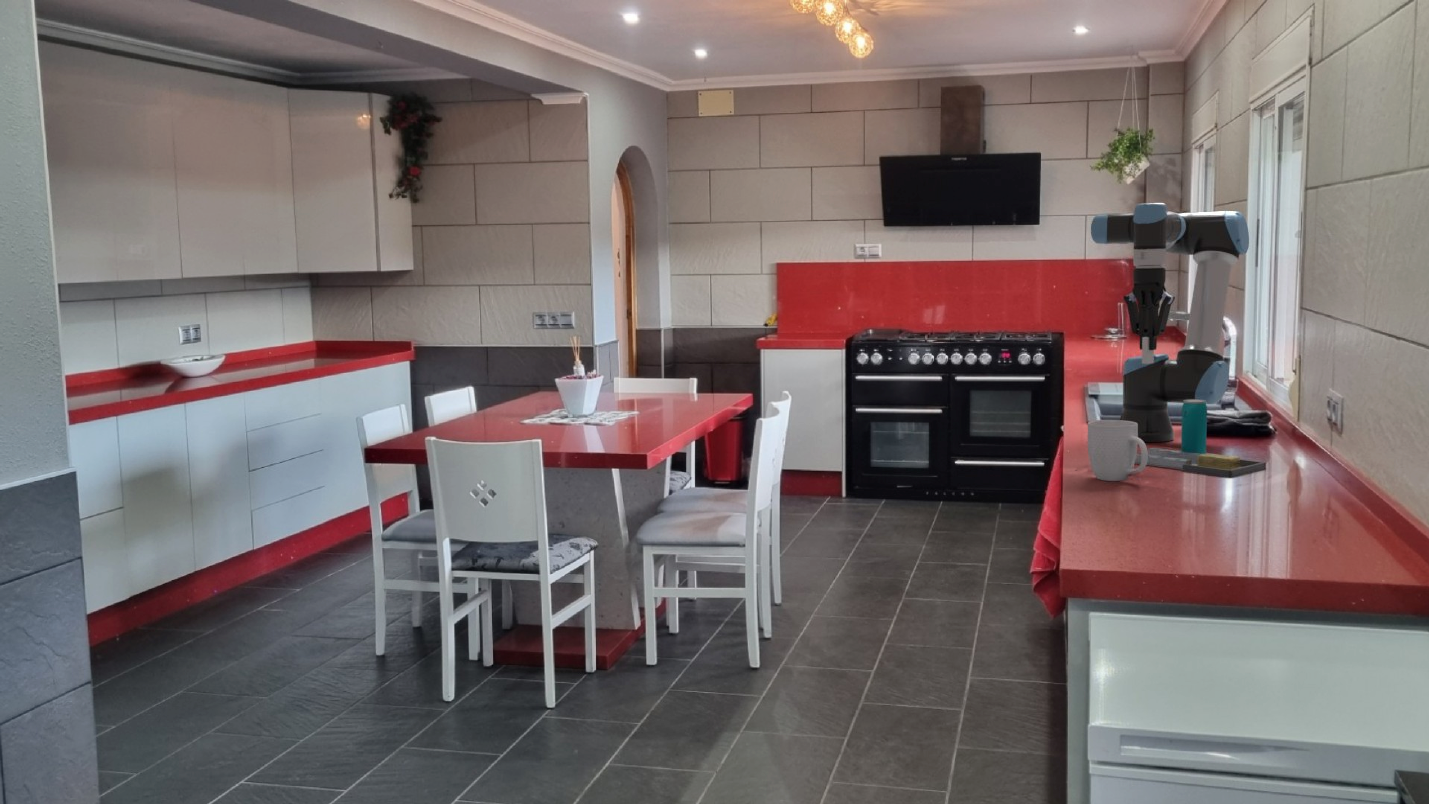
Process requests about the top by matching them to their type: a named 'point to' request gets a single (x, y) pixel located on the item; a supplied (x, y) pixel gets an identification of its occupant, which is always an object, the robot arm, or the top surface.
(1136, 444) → the mug
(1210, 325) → the robot arm
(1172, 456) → the slot board
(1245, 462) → the tray
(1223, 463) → the tan cardboard cube
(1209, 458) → the tan block
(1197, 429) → the beverage can
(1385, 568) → the top surface
